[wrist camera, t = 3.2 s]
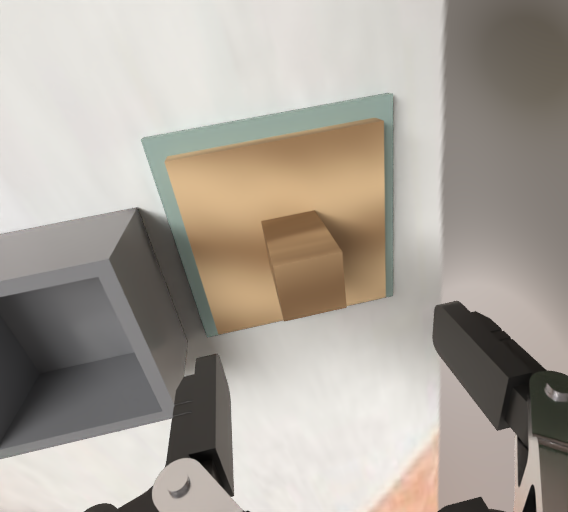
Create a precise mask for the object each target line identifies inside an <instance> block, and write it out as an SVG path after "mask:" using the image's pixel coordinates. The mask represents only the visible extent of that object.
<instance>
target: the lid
mask: <svg viewBox="0 0 568 512" xmlns="http://www.w3.org/2000/svg"><path fill="white" fill-rule="evenodd" d="M165 166H166V169H167V172H168V175H169V178H170V182H171V185H172V188H173V191H174V194H175V198H176V201H177V204H178V207H179V210H180V214H181V217H182V220H183V223H184V226H185V230H186V233H187V236H188V239H189V242H190V245H191V249H192V252H193V255H194V258H195V261H196V265H197V268H198V271H199V274H200V277H201V281H202V284H203V287H204V290H205V293H206V297H207V300H208V303H209V306H210V309H211V313H212V316H213V319H214V322H215V325H216V328H217V332H218V335H219V334H224V333H228V332H233V331H237V330H242V329H246V328H251V327H255V326H260V325H264V324H269V323H273V322H278V321H282V320H284V321H288V320H293V319H297V318H302V317H306V316H311V315H315V314H320V313H324V312H329V311H333V310H338V309H342V308H346V307H347V306H349V305H354V304H358V303H362V302H367V301H371V300H376V299H380V298H385V297H386V272H385V178H384V121H383V120H381V119H378V118H369V119H364V120H359V121H353V122H348V123H343V124H337V125H332V126H327V127H321V128H316V129H311V130H305V131H300V132H295V133H289V134H284V135H279V136H273V137H268V138H263V139H257V140H252V141H246V142H241V143H236V144H230V145H225V146H220V147H214V148H209V149H204V150H198V151H193V152H188V153H182V154H177V155H172V156H167V158H166V160H165Z"/></svg>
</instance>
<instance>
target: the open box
mask: <svg viewBox="0 0 568 512" xmlns="http://www.w3.org/2000/svg"><path fill="white" fill-rule="evenodd" d="M187 343H188V342H187V339H186V336H185V334H184V331H183V328H182V326H181V323H180V320H179V318H178V315H177V312H176V310H175V307H174V304H173V302H172V299H171V296H170V294H169V291H168V288H167V285H166V283H165V280H164V277H163V275H162V272H161V269H160V267H159V264H158V261H157V259H156V256H155V253H154V251H153V248H152V245H151V243H150V240H149V237H148V235H147V232H146V229H145V227H144V224H143V221H142V219H141V216H140V213H139V211H138V208H132V209H126V210H121V211H116V212H111V213H106V214H101V215H96V216H91V217H86V218H81V219H75V220H70V221H65V222H60V223H55V224H50V225H45V226H40V227H35V228H29V229H24V230H19V231H14V232H9V233H4V234H0V459H3V458H8V457H12V456H16V455H20V454H24V453H29V452H33V451H37V450H41V449H45V448H50V447H54V446H58V445H62V444H66V443H71V442H75V441H79V440H83V439H87V438H92V437H96V436H100V435H104V434H108V433H113V432H117V431H121V430H125V429H129V428H134V427H138V426H142V425H146V424H150V423H155V422H159V421H163V420H167V419H171V418H173V408H174V401H175V393H176V389H177V387H178V386H179V384H180V382H181V381H182V379H183V377H184V371H185V362H186V352H187Z"/></svg>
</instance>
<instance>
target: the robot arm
mask: <svg viewBox="0 0 568 512" xmlns="http://www.w3.org/2000/svg"><path fill="white" fill-rule="evenodd" d="M433 343H434V347H435V349H436V351H437V353H438V354H439V356H440V357H441V358H442V360H443V361H444V362H445V363H446V365H447V366H448V367H449V368H450V370H451V371H452V373H454V375H455V376H456V378H457V379H458V380H459V382H460V383H461V384H462V386H463V387H464V388H465V389H466V391H467V392H468V393H469V395H470V396H471V397H472V399H473V400H474V401H475V402H476V404H477V405H478V406H479V407H480V409H481V410H482V411H483V413H484V414H485V415H486V417H487V418H488V419H489V421H490V422H491V423H492V424H493V426H494V427H495V428H496V430H497V431H498V430H502V429H505V428H510V427H511V429H512V430H513V431H514V432H515V433H516V435H515V440H514V445H515V447H514V448H515V501H514V508H513V512H568V376H567V375H565V374H562V373H559V372H555V371H547V370H546V369H544V368H543V367H542V366H541V365H540V364H539V363H538V362H537V361H536V360H535V359H533V358H532V357H531V356H530V355H529V354H528V353H527V352H526V351H525V350H524V349H523V348H521V347H520V346H519V345H518V344H517V343H516V342H515V341H514V340H513V339H511V338H510V336H509V335H508V334H506V333H505V332H504V331H502V330H501V328H500V327H499V326H498V325H497V324H496V323H494V322H493V321H492V320H491V319H490V318H488V317H486V316H484V315H482V314H480V313H478V312H476V311H475V312H470V311H469V310H467V308H466V307H465V306H464V305H462V304H461V303H460V302H459V301H454V302H449V303H445V304H440V305H437V306H436V307H435V310H434V324H433ZM232 496H234V481H233V453H232V425H231V400H230V392H229V387H228V383H227V380H226V377H225V373H224V370H223V367H222V364H221V361H220V358H219V355H218V354H214V355H209V356H205V357H200V358H197V359H196V365H195V374H194V375H190V376H186V377H183V379H182V381H181V382H180V384H179V386H178V387H177V389H176V393H175V401H174V408H173V418H172V423H171V431H170V438H169V446H168V453H167V461H166V465H165V468H164V469H163V470H162V471H161V472H160V474H159V475H158V477H157V478H156V480H155V483H154V485H153V486H152V487H151V488H150V489H149V490H148V491H146V492H145V493H143V494H142V495H140V496H139V497H137V498H135V499H134V500H132V501H130V502H128V503H127V504H125V505H123V506H122V507H120V508H118V509H117V508H116V507H115V506H113V505H111V504H107V503H102V504H98V505H95V506H92V507H91V508H89V509H87V510H86V511H84V512H245V511H244V510H242V509H241V508H240V507H239V506H238V504H237V503H236V502H235V501H234V500H233V499H232V498H231V497H232ZM246 512H250V511H246ZM438 512H504V511H500V510H494V509H488V507H487V506H486V504H485V503H484V501H483V499H482V498H481V497H478V498H474V499H470V500H467V501H463V502H459V503H456V504H452V505H448V506H445V507H444V508H442V509H441V510H439V511H438Z"/></svg>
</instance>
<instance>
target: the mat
mask: <svg viewBox="0 0 568 512" xmlns="http://www.w3.org/2000/svg"><path fill="white" fill-rule="evenodd" d="M369 118H378V119H381V120H383V121H384V178H385V272H386V297H390V296H393V94H391V93H385V94H380V95H374V96H369V97H363V98H358V99H352V100H347V101H341V102H336V103H330V104H325V105H319V106H314V107H308V108H303V109H297V110H292V111H287V112H281V113H276V114H270V115H265V116H259V117H254V118H248V119H243V120H237V121H232V122H226V123H221V124H215V125H210V126H204V127H199V128H193V129H188V130H182V131H177V132H172V133H166V134H161V135H155V136H150V137H144V138H142V139H141V142H142V145H143V148H144V151H145V154H146V157H147V159H148V162H149V165H150V168H151V171H152V174H153V177H154V180H155V183H156V186H157V189H158V192H159V195H160V198H161V201H162V204H163V207H164V210H165V213H166V216H167V219H168V222H169V225H170V228H171V231H172V234H173V237H174V240H175V243H176V246H177V249H178V252H179V255H180V258H181V261H182V264H183V267H184V270H185V273H186V276H187V279H188V282H189V285H190V288H191V291H192V294H193V297H194V300H195V303H196V306H197V309H198V312H199V315H200V318H201V321H202V324H203V327H204V330H205V333H206V335H207V337H212V336H216V335H218V332H217V328H216V325H215V322H214V319H213V316H212V313H211V309H210V306H209V303H208V300H207V297H206V293H205V290H204V287H203V284H202V281H201V277H200V274H199V271H198V268H197V265H196V261H195V258H194V255H193V252H192V249H191V245H190V242H189V239H188V236H187V233H186V230H185V226H184V223H183V220H182V217H181V214H180V210H179V207H178V204H177V201H176V198H175V194H174V191H173V188H172V185H171V182H170V178H169V175H168V172H167V169H166V166H165V160H166V158H167V156H172V155H177V154H182V153H188V152H193V151H198V150H204V149H209V148H214V147H220V146H225V145H230V144H236V143H241V142H246V141H252V140H257V139H263V138H268V137H273V136H279V135H284V134H289V133H295V132H300V131H305V130H311V129H316V128H321V127H327V126H332V125H337V124H343V123H348V122H353V121H359V120H364V119H369ZM386 297H385V298H386ZM380 299H381V298H380ZM376 300H377V299H376ZM371 301H372V300H371ZM367 302H368V301H367ZM362 303H364V302H362ZM358 304H359V303H358ZM354 305H355V304H354ZM349 306H350V305H349ZM282 321H283V320H282ZM278 322H279V321H278ZM273 323H274V322H273ZM269 324H270V323H269ZM264 325H265V324H264ZM260 326H261V325H260ZM255 327H256V326H255ZM251 328H252V327H251ZM246 329H247V328H246ZM242 330H243V329H242ZM237 331H238V330H237ZM233 332H234V331H233ZM228 333H230V332H228ZM224 334H225V333H224ZM219 335H221V334H219Z"/></svg>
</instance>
